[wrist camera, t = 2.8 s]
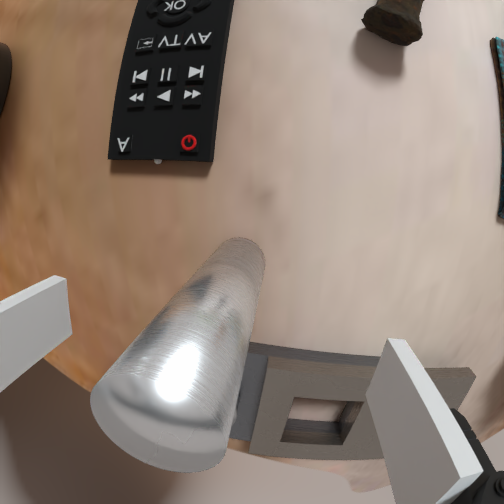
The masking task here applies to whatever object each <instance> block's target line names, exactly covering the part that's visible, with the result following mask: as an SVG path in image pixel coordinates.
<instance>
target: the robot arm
mask: <svg viewBox="0 0 504 504" xmlns="http://www.w3.org/2000/svg"><path fill="white" fill-rule="evenodd" d="M11 65H12V59H11V52H10V49H9V47H8V46H7V45H6V44H4V43H1V42H0V114H1V111H2V108H3V105H4V102H5V98H6V95H7V90H8V86H9V81H10V75H11ZM71 335H72V328H71V320H70V312H69V303H68V293H67V281H66V278H62V277H59V276H56V275H54V276H52V277H49V278H47V279H45V280H43V281H41V282H39V283H37V284H35V285H33V286H30V287H28V288H26V289H24V290H22V291H20V292H18V293H16V294H14V295H12V296H10V297H8V298H6V299H4V300H2V301H0V392H1V391H2V390H4V389H5V388H6V387H7V386H8V385H9V384H11V383H12V382H13V381H14V380H15V379H17V378H18V377H19V376H20V375H21V374H23V373H24V372H25V371H26V370H28V369H29V368H30V367H31V366H33V365H34V364H35V363H36V362H38V361H39V360H40V359H41V358H43V357H44V356H45V355H46V354H48V353H49V352H50V351H51V350H53V349H54V348H55V347H56V346H58V345H59V344H60V343H62V342H63V341H64V340H65V339H67V338H68V337H69V336H71ZM365 395H366V398H367V402H368V405H369V408H370V411H371V414H372V418H373V421H374V424H375V428H376V431H377V435H378V438H379V441H380V445H381V448H382V452H383V456H384V459H385V463H386V467H387V470H388V474H389V478H390V482H391V486H392V490H393V494H394V498H395V502H396V504H504V471H498V472H496V470H495V469H494V467H493V465H492V463H491V461H490V460H489V458H488V456H487V454H486V452H485V451H484V449H483V447H482V445H481V444H480V442H479V440H478V439H476V435H475V433H474V432H473V430H472V431H471V427H470V425H469V423H468V422H467V420H466V418H465V417H464V416H463V415H462V414H460V413H459V412H458V411H457V410H456V409H455V408H451V409H449V407H448V406H447V404H446V403H445V401H444V399H443V398H442V396H441V394H440V393H439V391H438V390H437V388H436V386H435V385H434V383H433V382H432V380H431V378H430V377H429V375H428V374H427V372H426V371H425V369H424V368H423V366H422V365H421V363H420V361H419V360H418V358H417V357H416V355H415V354H414V352H413V351H412V349H411V348H410V347H409V345H408V344H407V342H406V341H405V339H392V338H387V341H386V344H385V347H384V349H383V352H382V355H381V357H380V360H379V363H378V365H377V368H376V370H375V373H374V375H373V378H372V380H371V382H370V385H369V387H368V389H367V392H366V394H365Z"/></svg>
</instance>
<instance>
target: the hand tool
mask: <svg viewBox="0 0 504 504" xmlns="http://www.w3.org/2000/svg"><path fill="white" fill-rule="evenodd" d="M423 1H424V0H378V1H377V4H376V5H375V6H372V7H371V8H369V9H368V10H367V11H366V12H365V14H364V18H363V19H361V20H362V22H363V24H364V25H365V27H366V28H367V30H369V31H371V32H374V33H375V34H377V35H379V36H380V37H382V38H384V39H386V40H388V41H390V42H392V43H396V44H398V45H404V46H407V45H410V44H411V43H412V42H415V41H418V40H419V39H420V38H421V36H422V35H423V33H422V28H421V22H420V21H419V15H420V12H421V7H422V3H423Z"/></svg>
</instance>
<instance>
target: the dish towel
mask: <svg viewBox="0 0 504 504" xmlns="http://www.w3.org/2000/svg"><path fill="white" fill-rule="evenodd" d="M490 44H491V50H492V55H493V59H494V65H495V72H496V77H497V83H498V90H499V98H500V112H501V131H502V175H501V199H500V208H499V211H498V216H499V217H501V218H504V40H503V39H500V38H498V37H496V38H492V39H491V40H490Z"/></svg>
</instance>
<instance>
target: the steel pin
mask: <svg viewBox="0 0 504 504" xmlns="http://www.w3.org/2000/svg"><path fill="white" fill-rule="evenodd" d="M264 270H265V257H264V254H263V252H262V250H261V249H260V247H259V246H258V245H257V244H256V243H254V242H253V241H251V240H249V239H246V238H240V237H238V238H232V239H229V240H227V241H225V242H224V243H222V244H221V245H220V246H219V247H218V249H217V250H216V251H215V252H214V253H213V254H212V255H211V256H210V257H209V258H208V259H207V260H206V261H205V262H204V264H203V265H202V266H201V267H200V268H199V269H198V270H197V271H196V272H195V273H194V274H193V275H192V277H191V278H190V279H189V280H188V281H187V282H186V283H185V284H184V285H183V286H182V287H181V289H180V290H179V291H178V292H177V293H176V294H175V295H174V296H173V297H172V298H171V300H170V301H169V302H168V303H167V304H166V305H165V306H164V307H163V308H162V310H161V311H160V312H159V313H158V314H157V315H156V316H155V317H154V318H153V320H152V321H151V322H150V323H149V324H148V325H147V326H146V327H145V329H144V330H143V331H142V332H141V333H140V334H139V335H138V337H137V338H136V339H135V340H134V341H133V342H132V343H131V344H130V346H129V347H128V348H127V349H126V350H125V351H124V352H123V354H122V355H121V356H120V357H119V358H118V359H117V361H116V362H115V363H114V364H113V365H112V366H111V367H110V369H109V370H108V371H107V372H106V373H105V374H104V376H103V377H102V378H101V379H100V380H99V381H98V383H97V384H96V385H95V386H94V388H93V390H92V392H91V397H90V404H91V409H92V412H93V415H94V417H95V419H96V421H97V423H98V425H99V426H100V428H101V429H102V430H103V431H104V433H105V434H106V435H107V436H108V437H109V438H110V439H111V440H112V441H113V442H114V443H115V444H116V445H117V446H118V447H120V448H121V449H122V450H124V451H125V452H127V453H128V454H130V455H131V456H133V457H135V458H136V459H138V460H140V461H142V462H144V463H147V464H149V465H151V466H155V467H157V468H160V469H164V470H169V471H174V472H184V473H191V472H200V471H204V470H207V469H210V468H212V467H214V466H216V465H217V464H218V463H219V462H220V461H221V460H222V459H223V457H224V455H225V452H226V448H227V444H228V439H229V435H230V430H231V426H232V421H233V417H234V412H235V408H236V403H237V399H238V394H239V390H240V385H241V380H242V376H243V371H244V366H245V362H246V357H247V352H248V348H249V343H250V338H251V333H252V328H253V324H254V319H255V314H256V309H257V304H258V299H259V294H260V289H261V284H262V280H263V275H264Z"/></svg>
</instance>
